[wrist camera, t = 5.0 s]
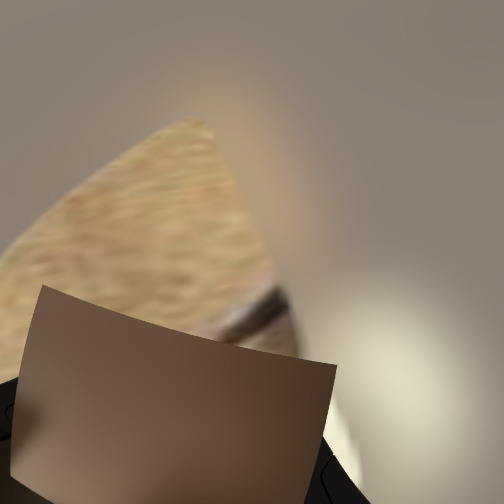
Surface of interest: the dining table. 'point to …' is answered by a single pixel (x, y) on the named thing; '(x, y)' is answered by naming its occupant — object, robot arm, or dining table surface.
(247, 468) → the wooden block
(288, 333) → the dining table surface
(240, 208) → the dining table surface
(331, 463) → the robot arm
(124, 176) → the dining table surface
